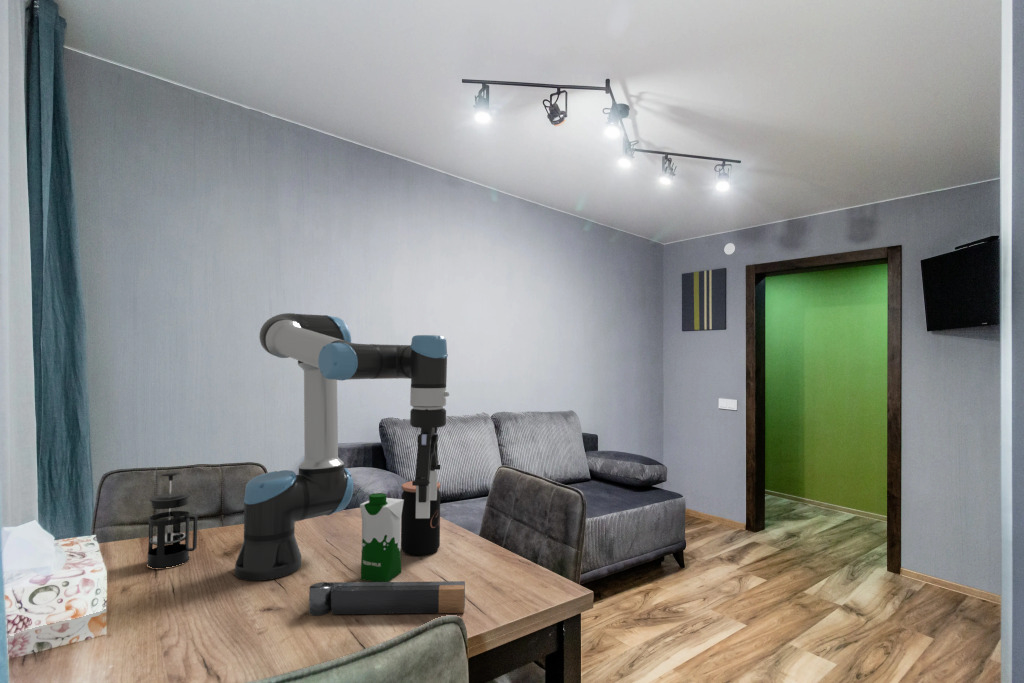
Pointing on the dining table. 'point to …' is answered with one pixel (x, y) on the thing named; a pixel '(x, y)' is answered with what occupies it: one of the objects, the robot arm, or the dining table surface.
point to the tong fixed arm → (323, 591)
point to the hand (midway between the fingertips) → (426, 508)
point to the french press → (175, 550)
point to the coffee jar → (419, 524)
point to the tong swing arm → (398, 599)
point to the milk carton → (381, 538)
